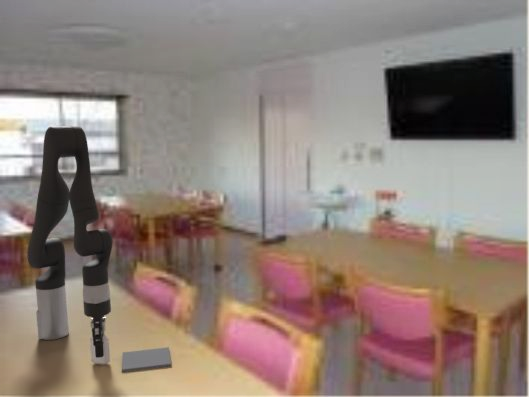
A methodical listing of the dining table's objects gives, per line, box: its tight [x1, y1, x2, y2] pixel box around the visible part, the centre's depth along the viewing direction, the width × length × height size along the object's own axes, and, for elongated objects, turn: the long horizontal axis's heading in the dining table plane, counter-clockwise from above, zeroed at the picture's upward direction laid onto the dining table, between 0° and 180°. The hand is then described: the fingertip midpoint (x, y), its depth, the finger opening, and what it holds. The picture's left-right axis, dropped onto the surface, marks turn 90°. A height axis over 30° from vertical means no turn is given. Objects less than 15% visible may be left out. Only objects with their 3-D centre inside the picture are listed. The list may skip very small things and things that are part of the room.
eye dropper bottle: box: [89, 334, 111, 366], centre depth 158 cm, size 4×6×12 cm
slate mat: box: [121, 347, 172, 373], centre depth 160 cm, size 14×12×1 cm
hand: (100, 352), depth 158 cm, fingers closed on eye dropper bottle, 4 cm apart
